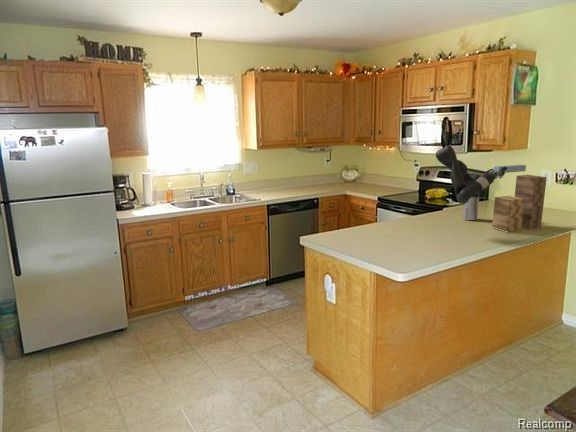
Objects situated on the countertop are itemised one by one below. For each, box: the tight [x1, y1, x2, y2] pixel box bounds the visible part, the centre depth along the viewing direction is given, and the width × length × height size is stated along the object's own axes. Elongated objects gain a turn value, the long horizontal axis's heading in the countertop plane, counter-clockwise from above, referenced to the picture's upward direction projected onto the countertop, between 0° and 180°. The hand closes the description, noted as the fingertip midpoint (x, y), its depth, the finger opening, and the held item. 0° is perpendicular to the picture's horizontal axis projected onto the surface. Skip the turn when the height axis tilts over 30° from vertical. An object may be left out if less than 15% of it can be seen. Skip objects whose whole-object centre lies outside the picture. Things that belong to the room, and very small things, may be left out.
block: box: [491, 195, 524, 232], centre depth 275 cm, size 12×12×21 cm
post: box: [514, 174, 547, 230], centre depth 279 cm, size 10×14×34 cm
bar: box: [493, 164, 527, 174], centre depth 268 cm, size 22×4×4 cm, turn 109°
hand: (503, 167), depth 266 cm, fingers closed on bar, 4 cm apart
